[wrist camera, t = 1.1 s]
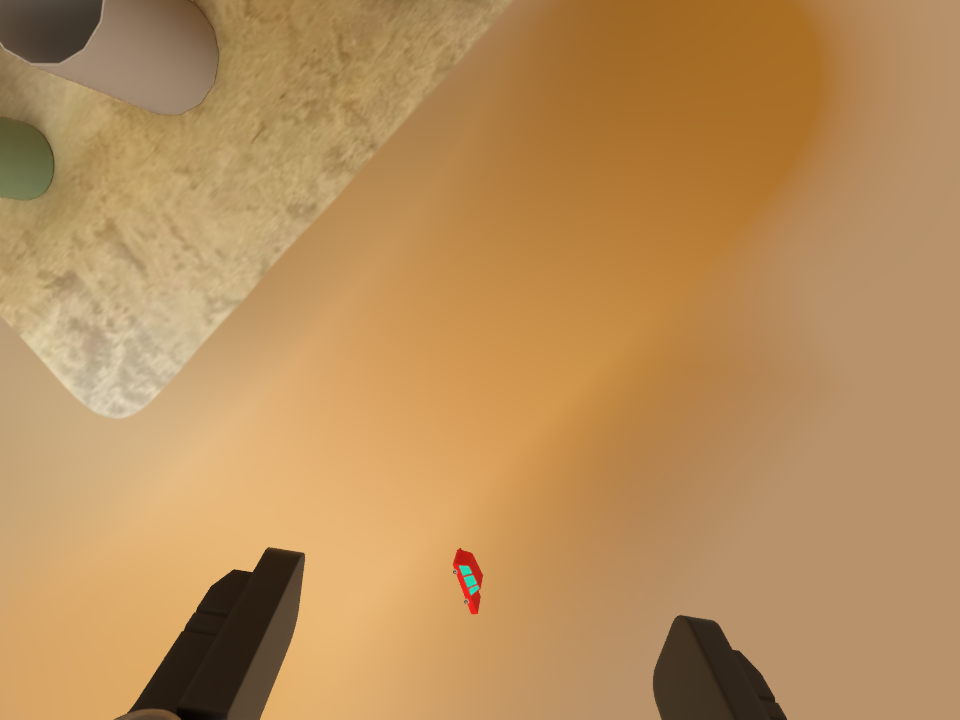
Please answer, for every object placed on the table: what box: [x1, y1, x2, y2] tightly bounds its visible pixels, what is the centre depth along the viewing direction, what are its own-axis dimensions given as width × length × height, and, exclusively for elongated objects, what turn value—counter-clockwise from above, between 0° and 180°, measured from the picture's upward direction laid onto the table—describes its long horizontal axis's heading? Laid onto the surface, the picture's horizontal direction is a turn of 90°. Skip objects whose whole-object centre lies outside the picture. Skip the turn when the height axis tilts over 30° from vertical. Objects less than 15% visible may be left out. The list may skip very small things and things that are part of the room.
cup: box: [0, 0, 219, 115], centre depth 35 cm, size 8×8×10 cm
